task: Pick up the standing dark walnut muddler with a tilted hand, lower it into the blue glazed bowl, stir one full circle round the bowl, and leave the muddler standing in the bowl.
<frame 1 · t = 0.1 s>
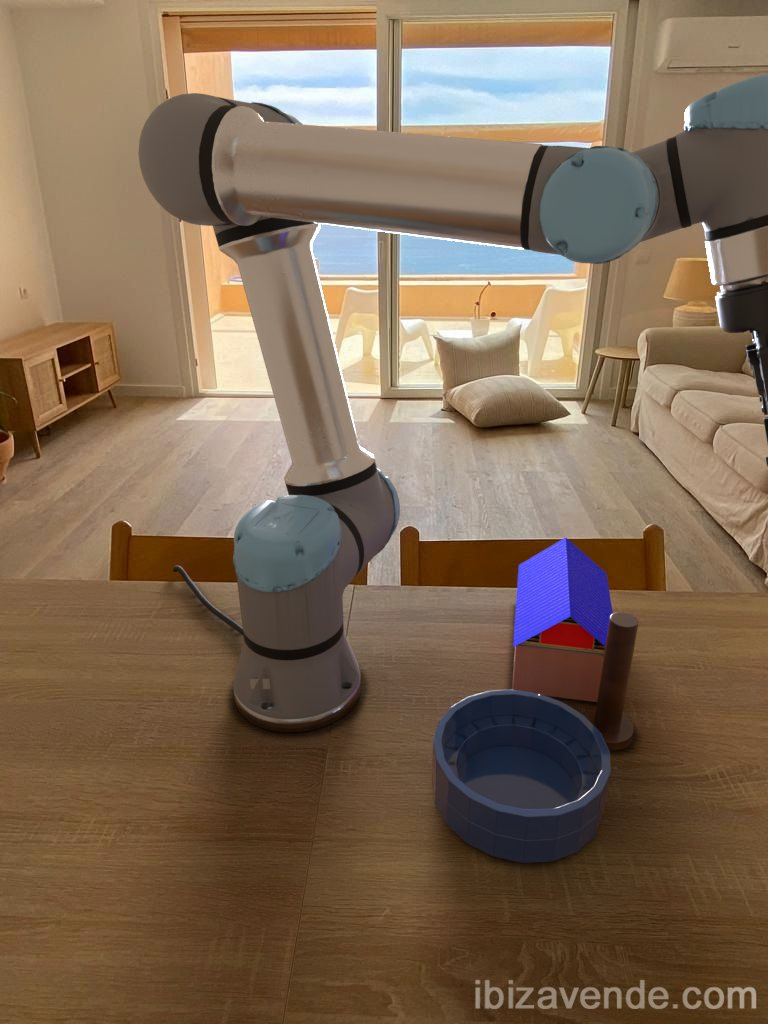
bowl: (515, 795, 69), on the table
house: (558, 651, 92), on the table
muddler: (605, 732, 77), on the table
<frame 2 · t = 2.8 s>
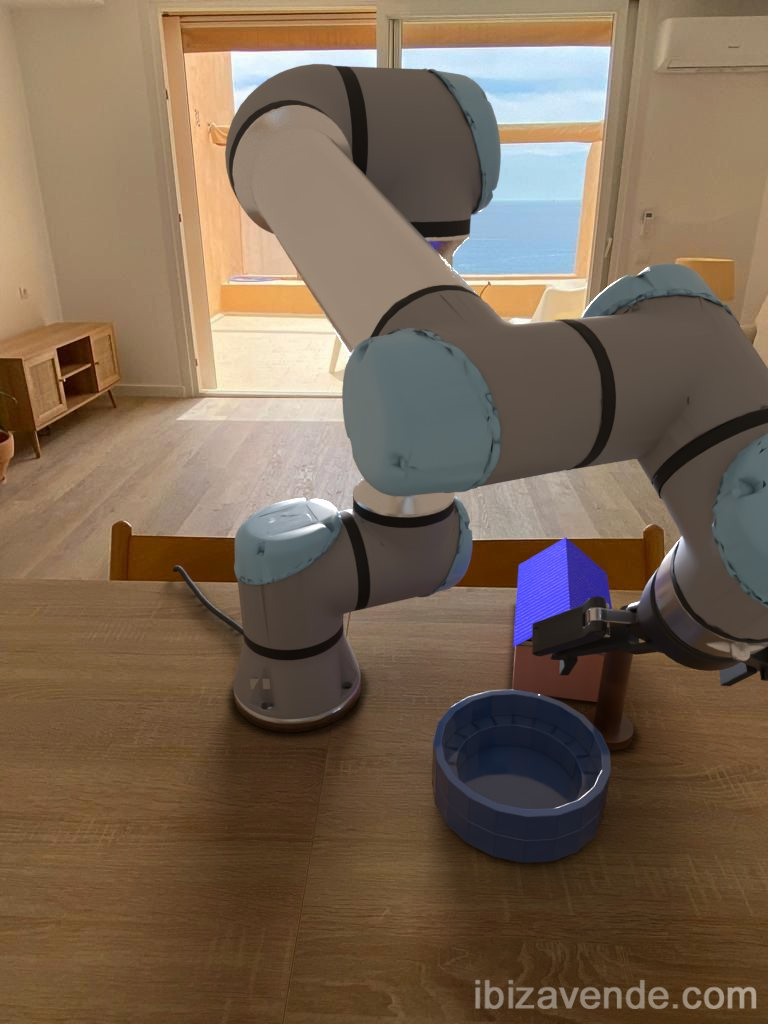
hand: (642, 665, 62), 17 cm above the table, tool tilted 40°, fingers open, 13 cm apart
nothing on the table moved.
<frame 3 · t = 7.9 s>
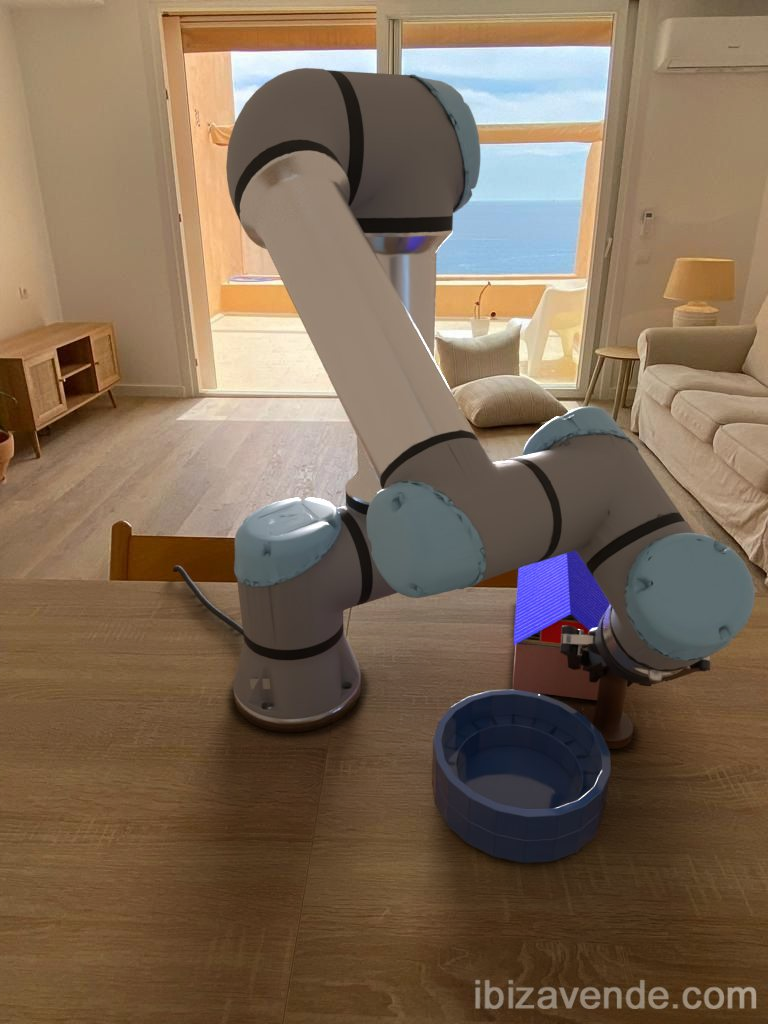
hand: (609, 672, 79), 5 cm above the table, tool tilted 45°, fingers closed on muddler, 3 cm apart
muddler: (605, 730, 77), on the table, touching gripper
everything else where it was.
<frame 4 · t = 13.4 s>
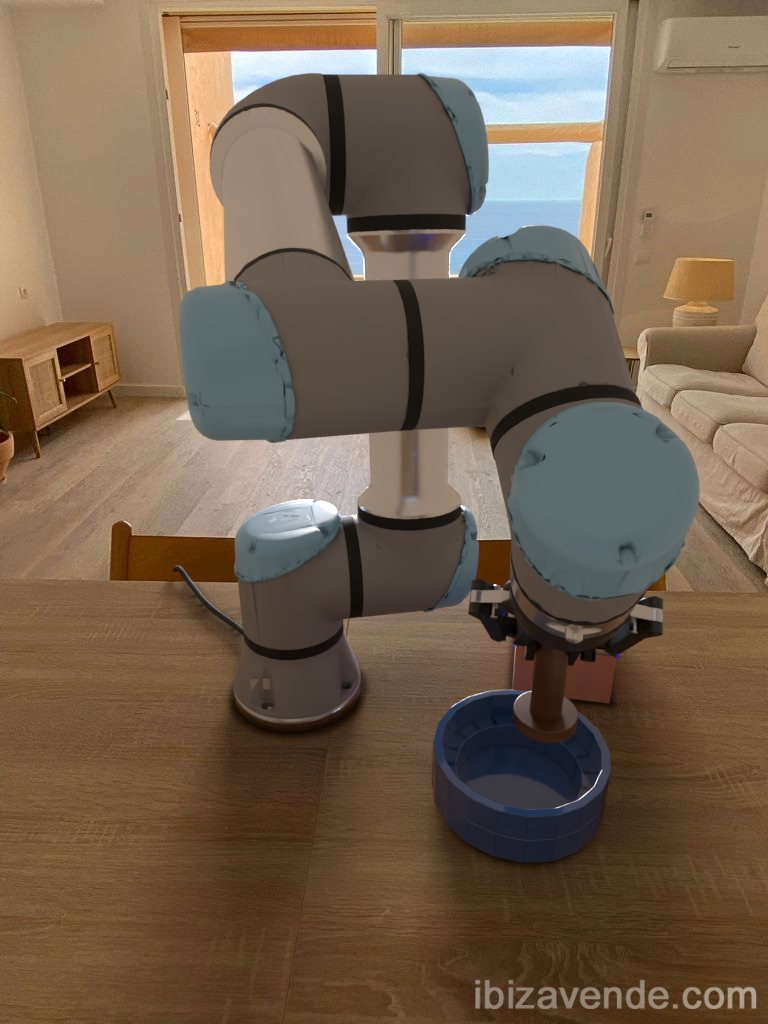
hand: (549, 647, 63), 17 cm above the table, tool tilted 45°, fingers closed on muddler, 3 cm apart
muddler: (544, 720, 62), point 12 cm above the table, touching gripper
everything else where it was.
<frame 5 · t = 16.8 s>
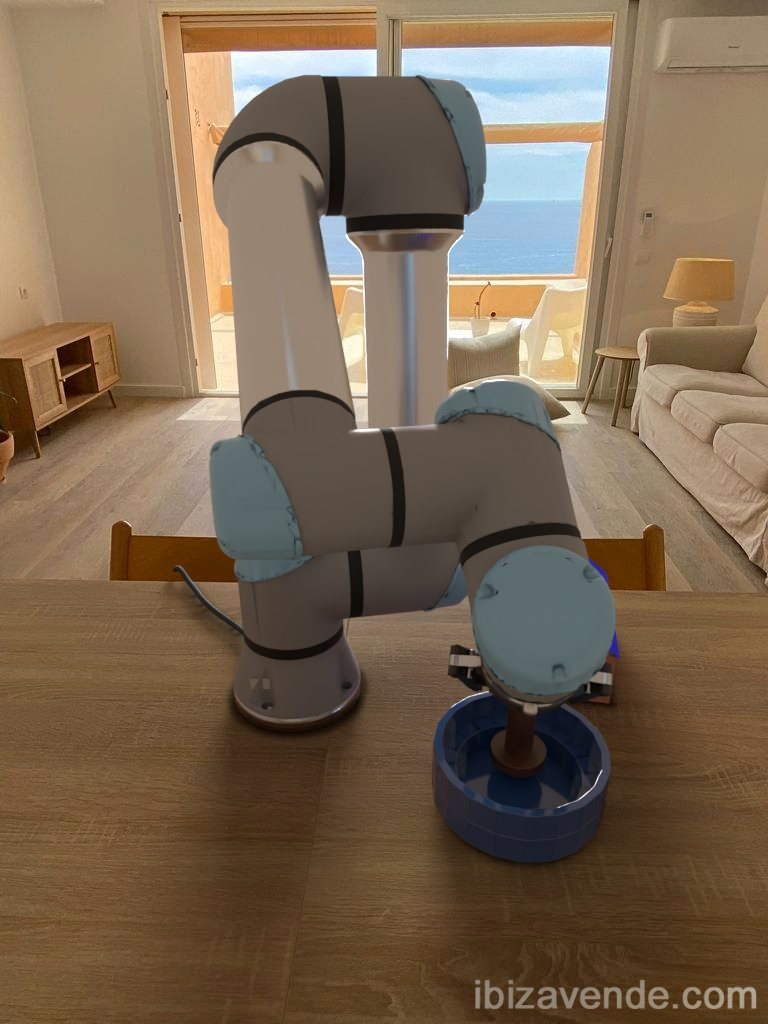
hand: (522, 691, 72), 8 cm above the table, tool tilted 45°, fingers closed on muddler, 3 cm apart
muddler: (517, 756, 70), point 3 cm above the table, touching gripper
everything else where it was.
when the fingers open (6 cm above the table, at t = 19.5 s): muddler stays where it is, resting on bowl.
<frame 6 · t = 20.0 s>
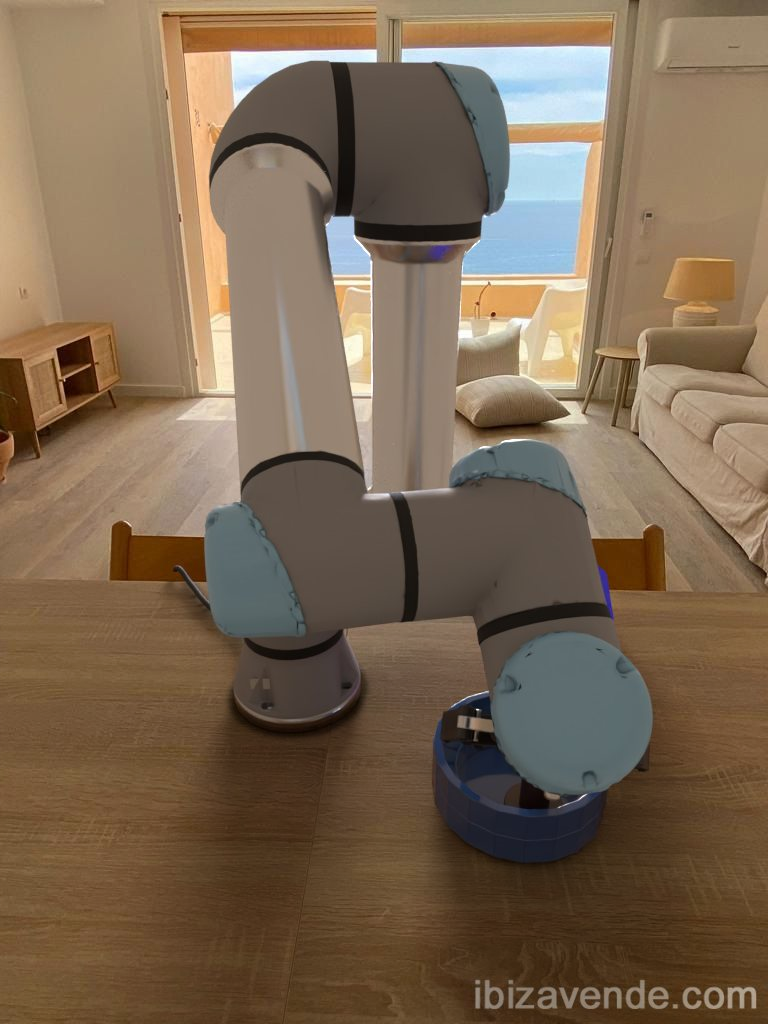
hand: (538, 744, 67), 7 cm above the table, tool tilted 45°, fingers open, 10 cm apart
muddler: (533, 813, 66), point 1 cm above the table, touching bowl
everything else where it was.
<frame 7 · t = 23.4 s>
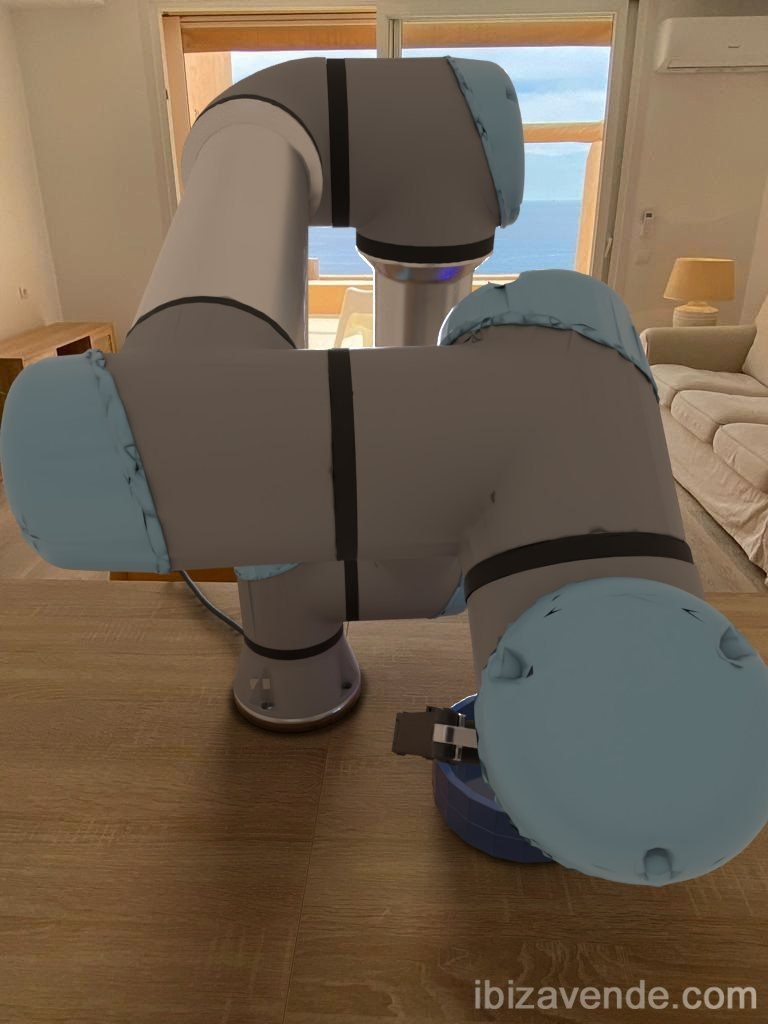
hand: (547, 759, 50), 18 cm above the table, tool tilted 45°, fingers open, 13 cm apart
nothing on the table moved.
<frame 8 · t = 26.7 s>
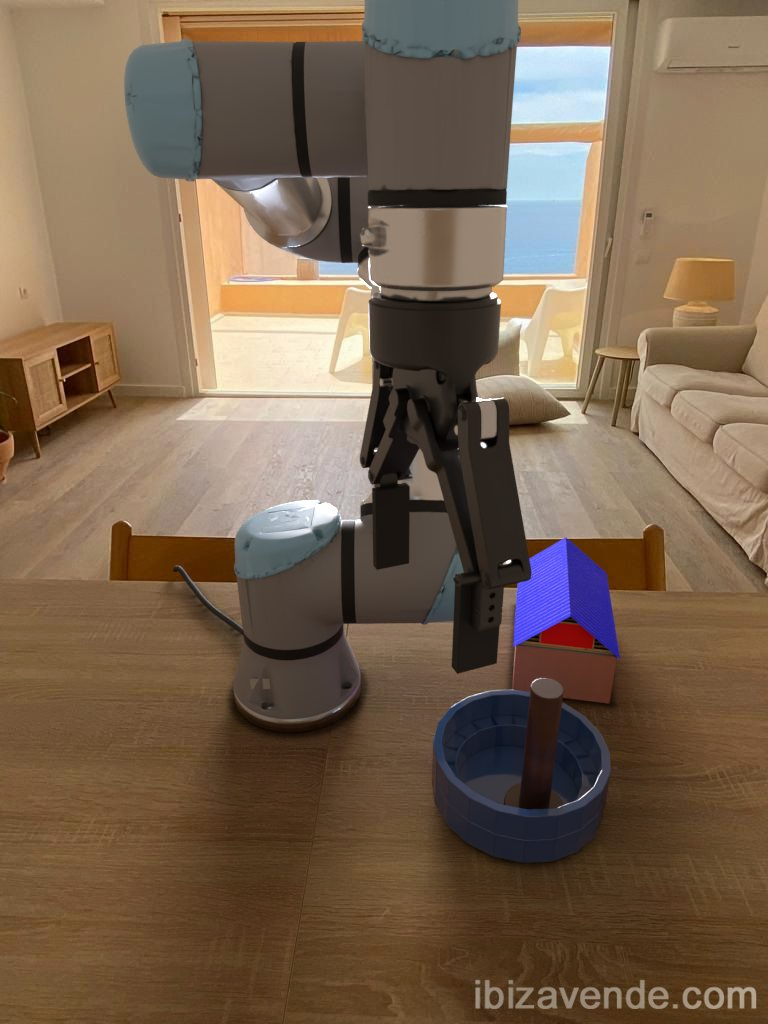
hand: (427, 609, 48), 29 cm above the table, tool pointing down, fingers open, 13 cm apart
nothing on the table moved.
at the end: muddler inside the target area in the bowl (3.1 cm from its centre), point 0.8 cm above the bowl's base; muddler moved 15.8 cm from its start; the gripper is holding nothing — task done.
